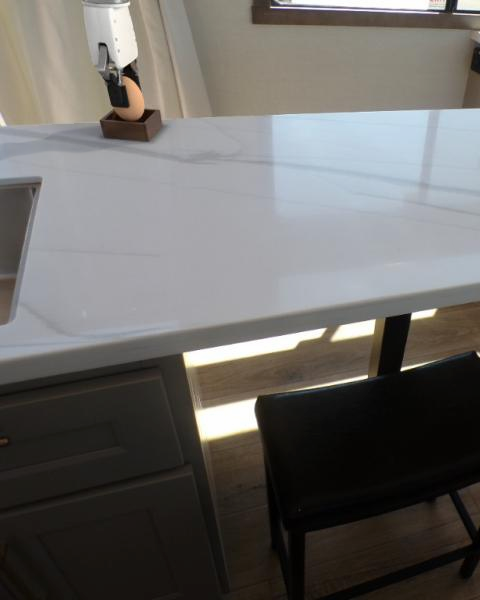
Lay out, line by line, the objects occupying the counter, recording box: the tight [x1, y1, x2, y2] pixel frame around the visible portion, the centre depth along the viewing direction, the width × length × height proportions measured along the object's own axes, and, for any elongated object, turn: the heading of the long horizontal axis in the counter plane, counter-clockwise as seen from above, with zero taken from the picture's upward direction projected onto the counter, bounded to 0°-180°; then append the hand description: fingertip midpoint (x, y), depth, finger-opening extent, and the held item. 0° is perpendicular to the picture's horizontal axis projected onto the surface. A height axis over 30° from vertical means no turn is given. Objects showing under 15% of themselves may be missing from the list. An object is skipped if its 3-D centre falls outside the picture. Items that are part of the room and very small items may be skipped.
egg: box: [112, 76, 145, 122], centre depth 99 cm, size 6×6×8 cm
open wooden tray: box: [99, 107, 164, 143], centre depth 102 cm, size 8×8×3 cm
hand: (127, 100), depth 100 cm, fingers closed on egg, 5 cm apart
